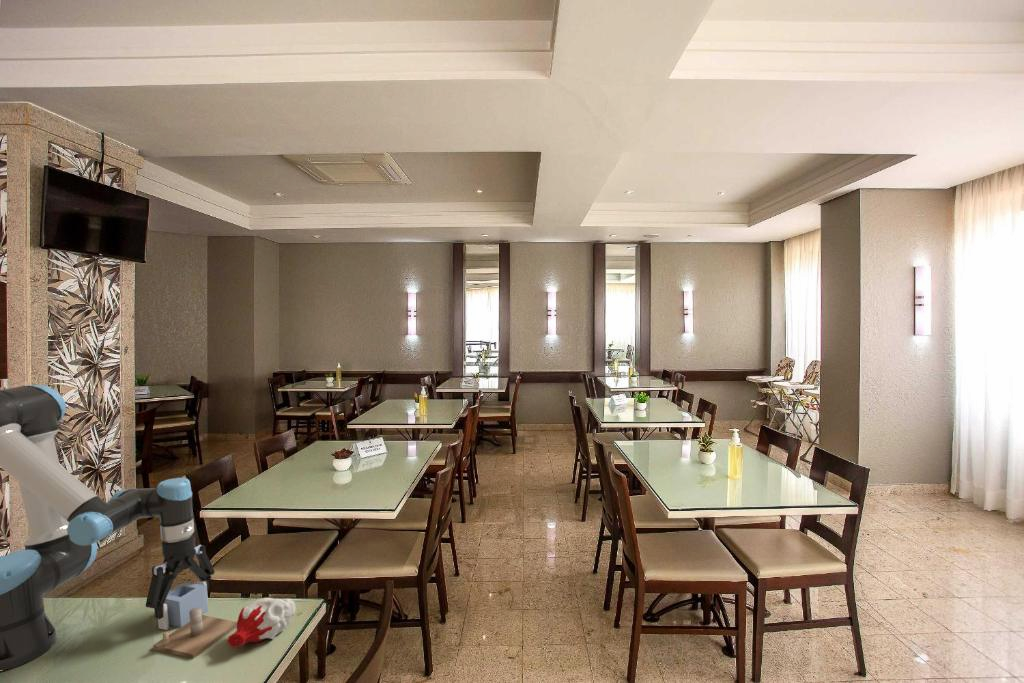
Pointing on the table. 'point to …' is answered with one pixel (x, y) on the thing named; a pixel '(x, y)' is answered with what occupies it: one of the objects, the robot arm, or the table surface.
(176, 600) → the square nut with handle
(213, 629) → the post base
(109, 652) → the table surface
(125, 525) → the robot arm
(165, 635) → the dowel
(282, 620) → the candle
